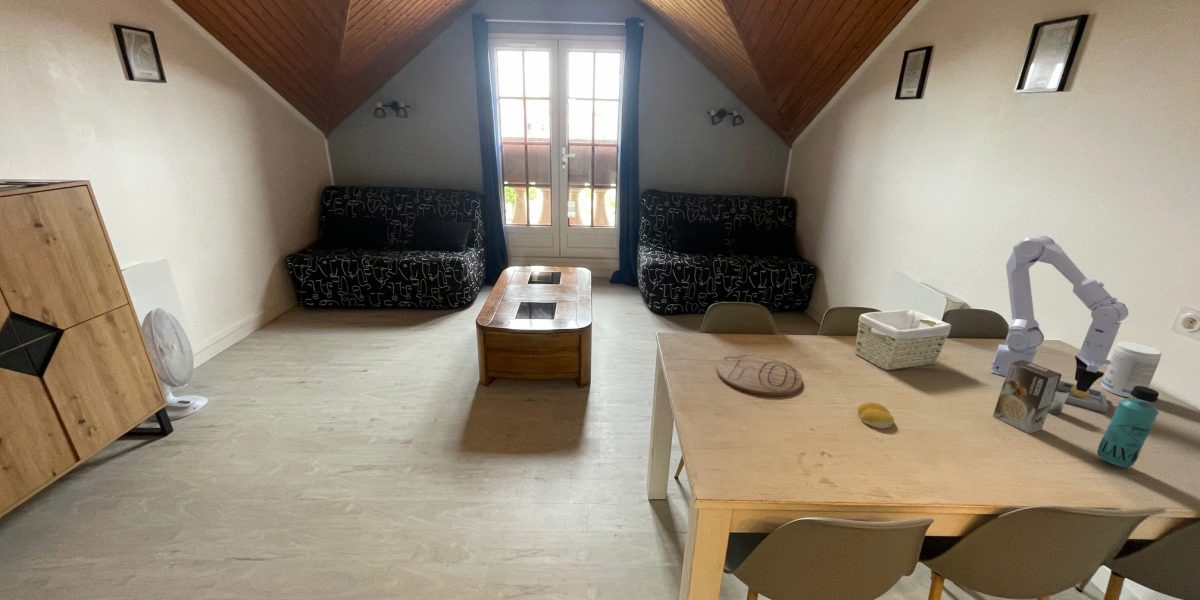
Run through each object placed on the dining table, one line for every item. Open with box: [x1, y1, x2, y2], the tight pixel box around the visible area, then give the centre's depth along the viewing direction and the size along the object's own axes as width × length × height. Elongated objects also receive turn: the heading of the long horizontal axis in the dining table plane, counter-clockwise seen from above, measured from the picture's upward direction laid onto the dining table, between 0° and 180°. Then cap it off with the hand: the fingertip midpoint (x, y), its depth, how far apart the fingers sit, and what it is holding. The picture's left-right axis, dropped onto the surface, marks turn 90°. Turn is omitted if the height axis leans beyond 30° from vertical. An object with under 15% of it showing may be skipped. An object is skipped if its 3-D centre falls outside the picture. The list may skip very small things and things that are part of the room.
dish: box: [1060, 380, 1109, 415], centre depth 147 cm, size 12×12×2 cm
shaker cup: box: [1048, 380, 1072, 416], centre depth 138 cm, size 5×5×8 cm
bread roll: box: [857, 401, 895, 429], centre depth 131 cm, size 8×9×4 cm
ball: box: [1070, 384, 1089, 398], centre depth 146 cm, size 4×4×4 cm
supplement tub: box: [1100, 341, 1163, 399], centre depth 150 cm, size 10×10×15 cm
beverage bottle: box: [1096, 386, 1160, 468], centre depth 114 cm, size 6×7×20 cm
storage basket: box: [853, 309, 952, 371], centre depth 166 cm, size 24×16×15 cm
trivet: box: [716, 353, 803, 398], centre depth 152 cm, size 25×25×2 cm
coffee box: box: [992, 360, 1062, 434], centre depth 130 cm, size 9×6×16 cm
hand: (1080, 385), depth 146 cm, fingers open, 7 cm apart
